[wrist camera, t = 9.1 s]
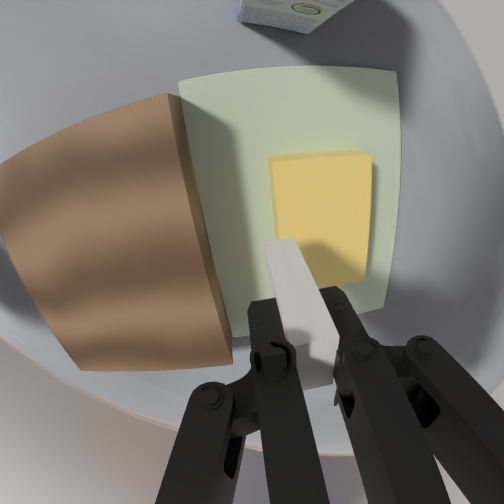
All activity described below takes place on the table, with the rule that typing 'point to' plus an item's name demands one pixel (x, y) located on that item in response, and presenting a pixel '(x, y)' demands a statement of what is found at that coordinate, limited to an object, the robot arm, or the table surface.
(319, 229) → the yellow sponge block
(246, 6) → the medicine box
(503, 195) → the table surface
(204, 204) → the mat
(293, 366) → the robot arm
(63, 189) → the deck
